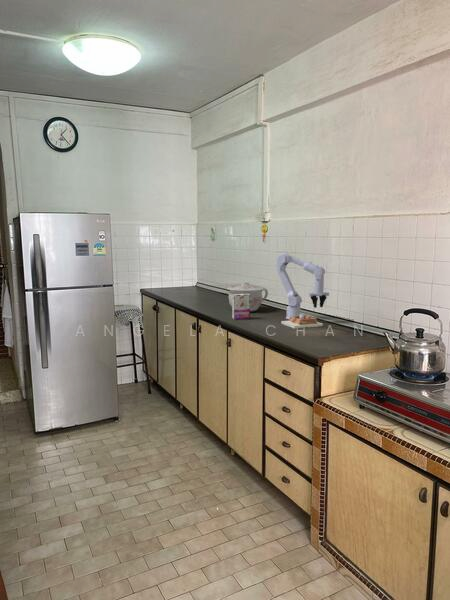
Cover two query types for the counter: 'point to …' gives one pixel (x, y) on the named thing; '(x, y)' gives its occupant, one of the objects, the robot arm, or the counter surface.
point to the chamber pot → (249, 289)
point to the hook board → (300, 325)
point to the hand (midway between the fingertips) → (318, 307)
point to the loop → (303, 320)
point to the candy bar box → (240, 306)
